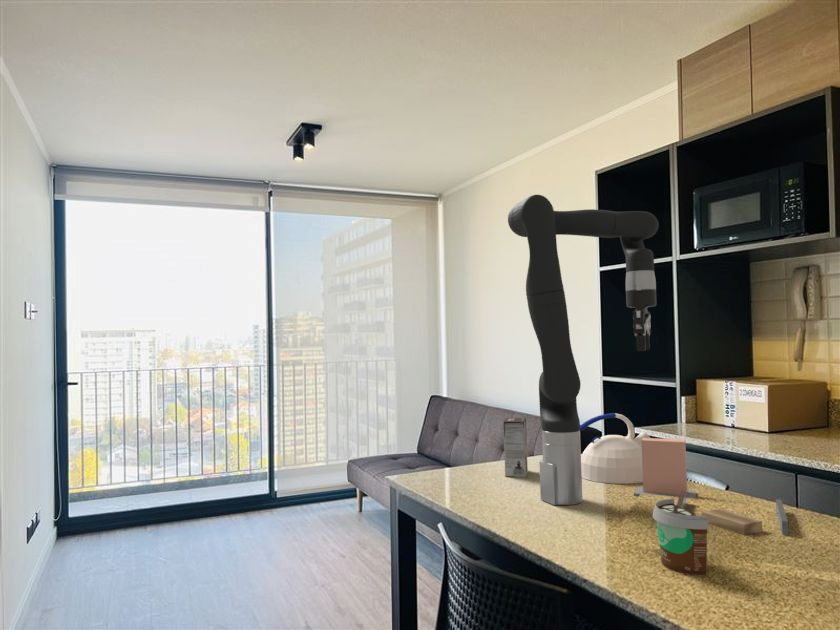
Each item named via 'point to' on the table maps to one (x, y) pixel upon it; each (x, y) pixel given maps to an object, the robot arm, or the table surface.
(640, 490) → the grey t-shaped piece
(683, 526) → the food container
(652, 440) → the tall sheet
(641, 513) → the table surface
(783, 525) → the rack
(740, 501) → the table surface
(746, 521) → the offcut top
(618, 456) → the kettle
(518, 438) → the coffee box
